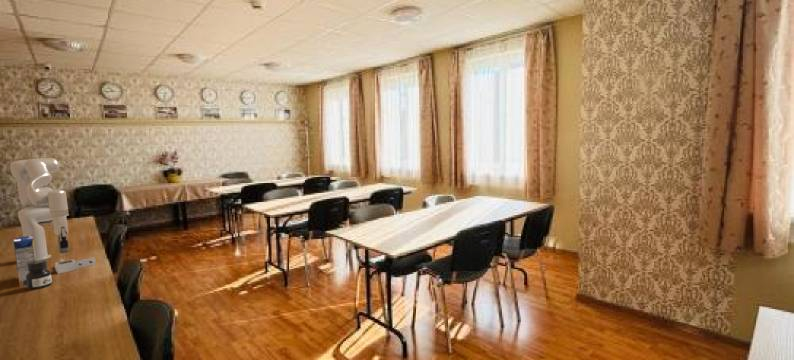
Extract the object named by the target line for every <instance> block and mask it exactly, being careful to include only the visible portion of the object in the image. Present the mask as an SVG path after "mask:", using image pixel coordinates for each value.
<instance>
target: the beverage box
mask: <svg viewBox="0 0 794 360" xmlns="http://www.w3.org/2000/svg"><path fill="white" fill-rule="evenodd" d="M13 247H14V253H15V254H14V255H15V260H16V261H15V262H16V268H17V275H18V283H19V287H22V286H27V282H26V275H27V274H28V273H29V271H28V267H27V263H29V262H33V261H36V258H35V250H34V242H33V236H25V237H23V236H19V237H14V238H13Z"/></svg>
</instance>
